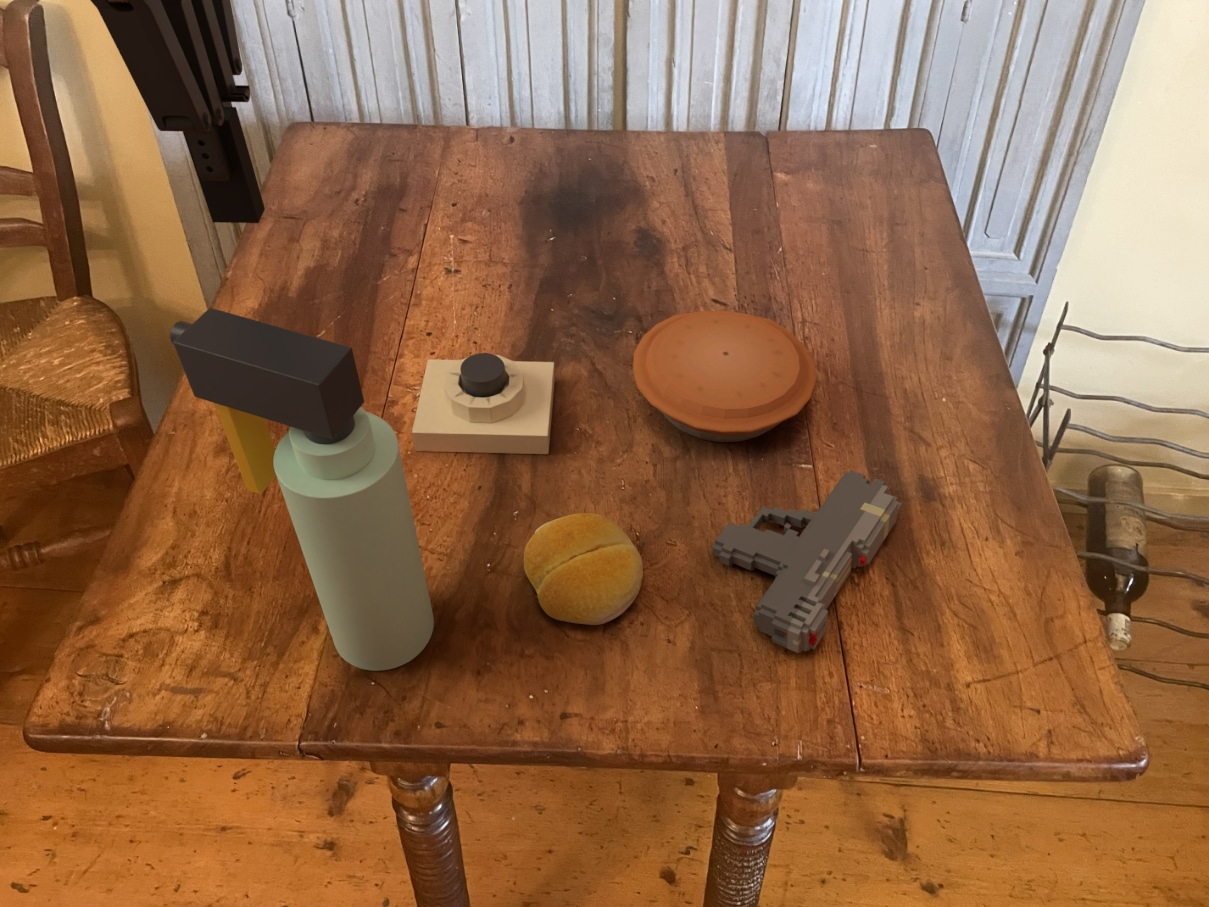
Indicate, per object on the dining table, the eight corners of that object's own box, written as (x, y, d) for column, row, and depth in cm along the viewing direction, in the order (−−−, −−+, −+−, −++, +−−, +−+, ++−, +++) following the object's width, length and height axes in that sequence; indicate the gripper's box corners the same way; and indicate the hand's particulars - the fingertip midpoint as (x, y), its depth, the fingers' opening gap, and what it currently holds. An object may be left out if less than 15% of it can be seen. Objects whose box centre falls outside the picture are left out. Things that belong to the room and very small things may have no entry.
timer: (415, 451, 81) (408, 416, 78) (430, 377, 87) (425, 343, 84) (548, 454, 81) (547, 419, 78) (554, 380, 87) (553, 346, 84)
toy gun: (680, 575, 70) (809, 631, 65) (785, 444, 79) (905, 484, 74) (683, 608, 72) (808, 665, 67) (784, 477, 81) (901, 518, 76)
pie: (826, 458, 81) (838, 415, 77) (638, 465, 80) (641, 421, 77) (791, 337, 92) (799, 294, 88) (625, 342, 91) (626, 299, 87)
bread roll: (557, 646, 68) (555, 614, 66) (512, 552, 74) (509, 518, 71) (663, 606, 71) (667, 573, 68) (612, 518, 76) (613, 484, 73)
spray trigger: (246, 490, 61) (211, 400, 55) (269, 464, 62) (237, 373, 57) (260, 495, 60) (226, 404, 55) (282, 468, 62) (252, 377, 56)
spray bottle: (249, 628, 69) (129, 358, 51) (305, 554, 74) (212, 282, 56) (403, 684, 66) (332, 420, 48) (451, 604, 71) (403, 334, 53)
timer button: (459, 397, 80) (457, 381, 79) (465, 368, 83) (463, 352, 81) (503, 398, 80) (502, 382, 79) (507, 369, 83) (506, 353, 81)
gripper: (125, -226, 37) (275, 284, 54) (222, -300, 46) (325, 158, 63) (-75, -229, 37) (139, 281, 54) (61, -302, 46) (207, 156, 63)
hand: (239, 215), depth 58 cm, fingers closed
